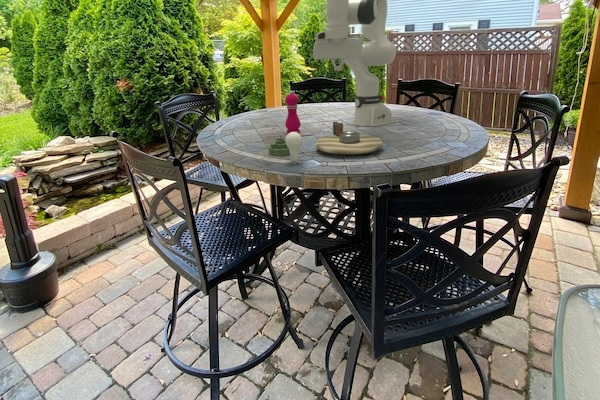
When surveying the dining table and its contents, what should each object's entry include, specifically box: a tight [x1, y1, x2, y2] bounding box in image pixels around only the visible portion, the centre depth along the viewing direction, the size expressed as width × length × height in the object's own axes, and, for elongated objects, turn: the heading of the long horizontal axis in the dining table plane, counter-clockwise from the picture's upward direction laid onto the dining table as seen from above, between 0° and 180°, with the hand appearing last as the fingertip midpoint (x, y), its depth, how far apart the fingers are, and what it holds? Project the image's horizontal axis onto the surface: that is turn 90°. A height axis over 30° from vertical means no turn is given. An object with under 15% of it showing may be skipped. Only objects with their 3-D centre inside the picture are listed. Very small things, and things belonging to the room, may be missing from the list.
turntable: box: [315, 122, 383, 154], centre depth 145 cm, size 26×26×6 cm
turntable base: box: [324, 152, 373, 158], centre depth 147 cm, size 20×20×2 cm
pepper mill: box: [284, 90, 301, 136], centre depth 173 cm, size 7×7×20 cm
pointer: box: [332, 121, 339, 135], centre depth 160 cm, size 6×5×8 cm
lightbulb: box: [284, 132, 303, 163], centre depth 133 cm, size 6×6×11 cm
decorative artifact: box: [268, 135, 291, 157], centre depth 146 cm, size 10×7×10 cm
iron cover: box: [339, 130, 361, 144], centre depth 145 cm, size 8×8×4 cm
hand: (337, 70), depth 153 cm, fingers closed
